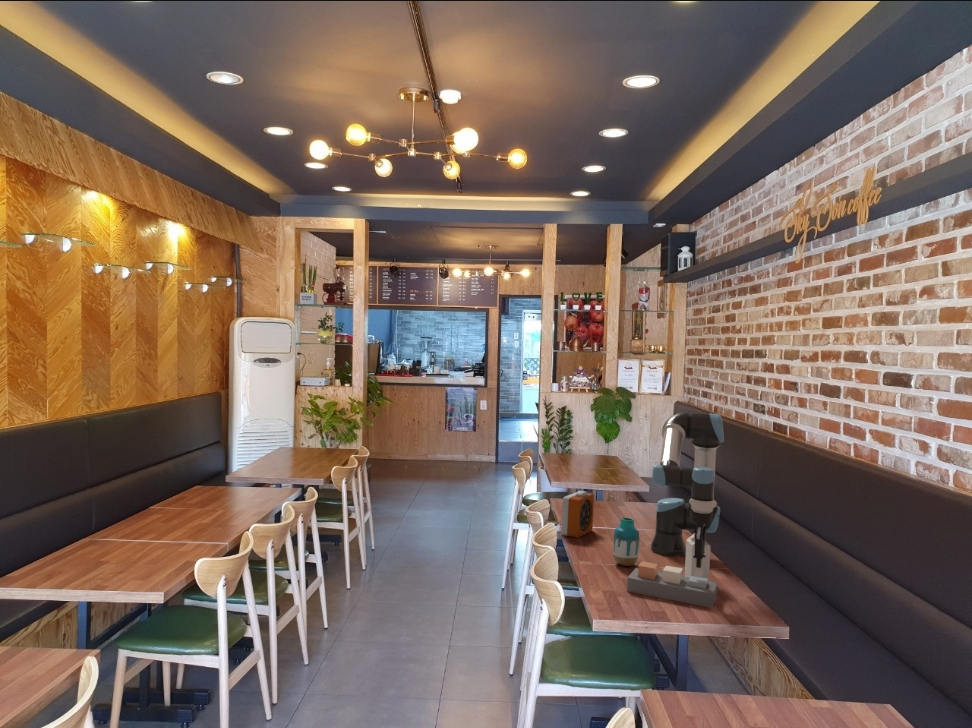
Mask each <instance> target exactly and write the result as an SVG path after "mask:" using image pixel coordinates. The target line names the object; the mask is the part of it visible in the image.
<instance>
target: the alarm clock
mask: <svg viewBox="0 0 972 728" xmlns="http://www.w3.org/2000/svg"><path fill="white" fill-rule="evenodd" d="M594 500H595V496H594V493H591V492H588V491H584V490H578V491H576V492H573V493H571V494H568V495H565V496H564V497H563V498H562V512H561V513H562V515H561V535H563V536H566V537H570V538H571V537H572V538H576V539H579V538H581V537H582V536H584V535H586V534H588V533H590V532H592V530H593V524H594V507H595V506H594V505H595V504H594V503H595V502H594Z"/></svg>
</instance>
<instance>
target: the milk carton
mask: <svg viewBox="0 0 972 728" xmlns="http://www.w3.org/2000/svg"><path fill="white" fill-rule="evenodd" d="M694 534H695V532H694V533H693V534H692V535H691V536H689V537H688V538H687V539H686V541H685V543H686V544H685V547H686V553H685V563H684V566H685V567H684V577H691V576H695V575H694V571H695V558H693V556H694V555H695V536H694ZM704 552H705V553H704V555H706V557H703V576H702V577H701V578H706V579H708V581H710V567H711V566H710V565H711V563H710V562H711V545H710V544H709V543H708V542H707V541H706V540H705V549H704ZM695 577H700V576H695Z"/></svg>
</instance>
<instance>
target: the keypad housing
mask: <svg viewBox="0 0 972 728" xmlns="http://www.w3.org/2000/svg"><path fill="white" fill-rule="evenodd" d="M689 579H690V577H685V575H682V582H681V584H675V583H669V582H664V581H663V571H658V576H657V578H656V579H655V580H653V579H648V578H642V577H638V567H635V568H634V569H633V571H631V573H630V574H629V576H627V581H626V582H627V586H626V591H627V592H628V593H629V592H630V593H634V594H639V595H645V596H650V597H655V598H660V599H665V600H669V601H675V602H680V603H686V604H689V605H690V604H691V605H695V606H699V607H700V606H701V607H706V608H711V609H713V608H714V606H715V603H716V600H717V597H718V582H716V581H711V580H709V581H708V587H707V589H701V588H696V587H691V586H688V580H689Z"/></svg>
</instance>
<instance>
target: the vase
mask: <svg viewBox="0 0 972 728" xmlns="http://www.w3.org/2000/svg"><path fill="white" fill-rule="evenodd" d="M619 521H620V522H619V526H617V527H616V528H615V529H614V533H613V541H612V542H613V543H612V554H613V559H614V561H615V563H617V564H618V565H621V566H625V567H629V566H633V565H635V564H636V563H637V561H638V560H639V553H640V532H639V530H638V528H636V527H635V520H634V518H632V517H626V516H625V517H624V516H623V517H621V518H620V520H619Z"/></svg>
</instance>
